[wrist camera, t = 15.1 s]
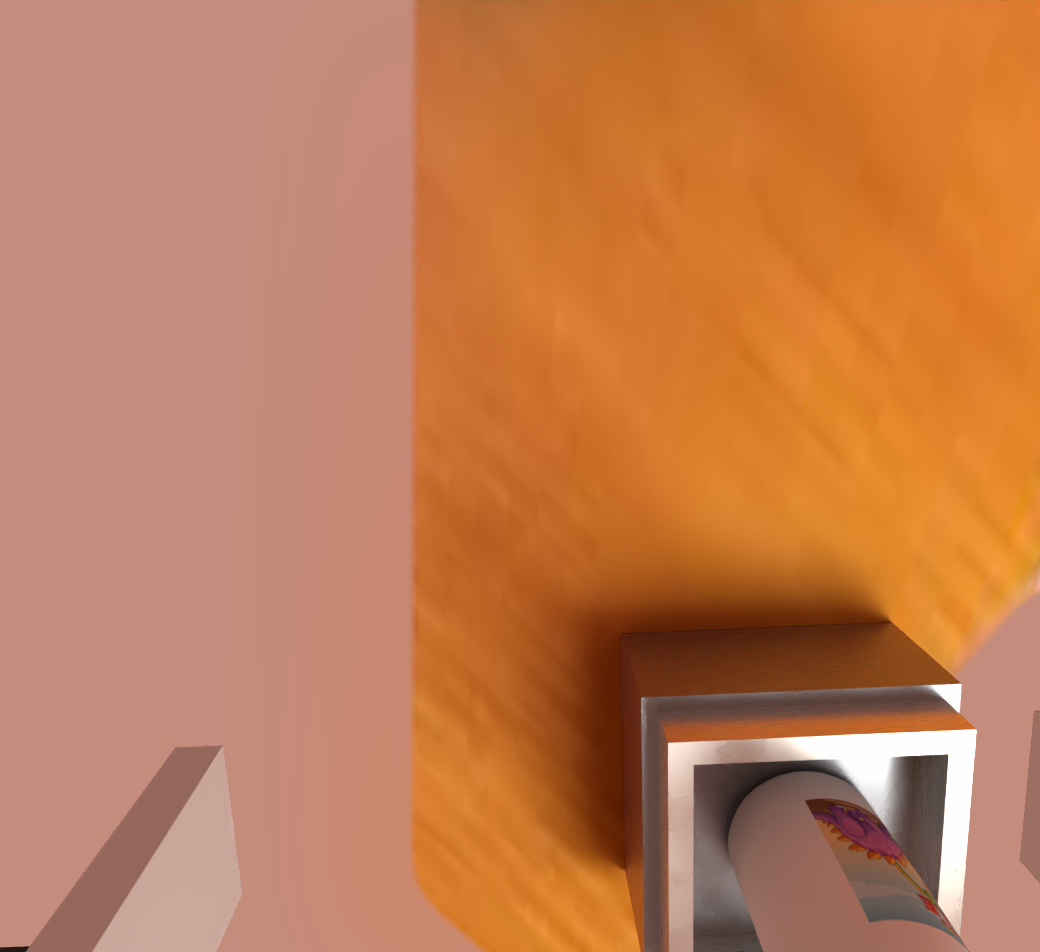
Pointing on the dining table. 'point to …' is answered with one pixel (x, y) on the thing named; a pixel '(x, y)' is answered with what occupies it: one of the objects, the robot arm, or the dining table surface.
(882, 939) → the milk bottle
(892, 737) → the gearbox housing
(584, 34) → the dining table surface
